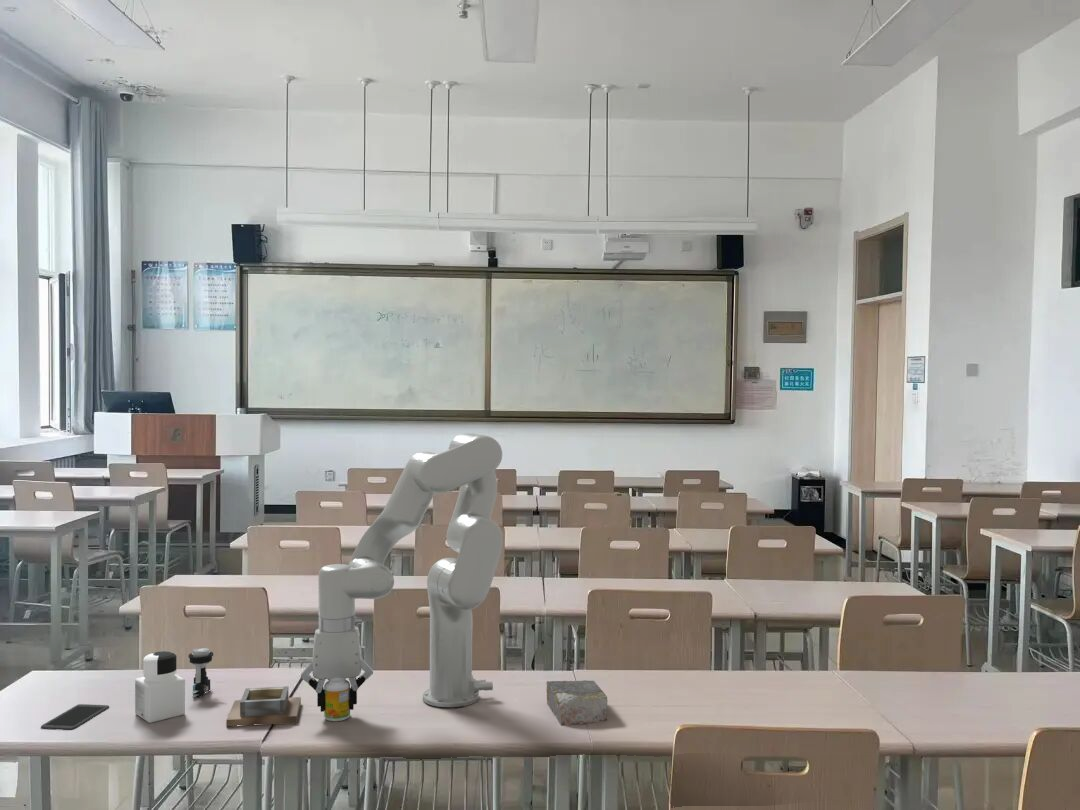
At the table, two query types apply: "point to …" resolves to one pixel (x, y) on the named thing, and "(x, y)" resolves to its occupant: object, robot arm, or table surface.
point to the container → (159, 688)
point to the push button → (200, 670)
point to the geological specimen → (576, 702)
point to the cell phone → (75, 717)
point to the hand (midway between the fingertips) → (337, 707)
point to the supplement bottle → (337, 699)
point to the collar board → (264, 707)
